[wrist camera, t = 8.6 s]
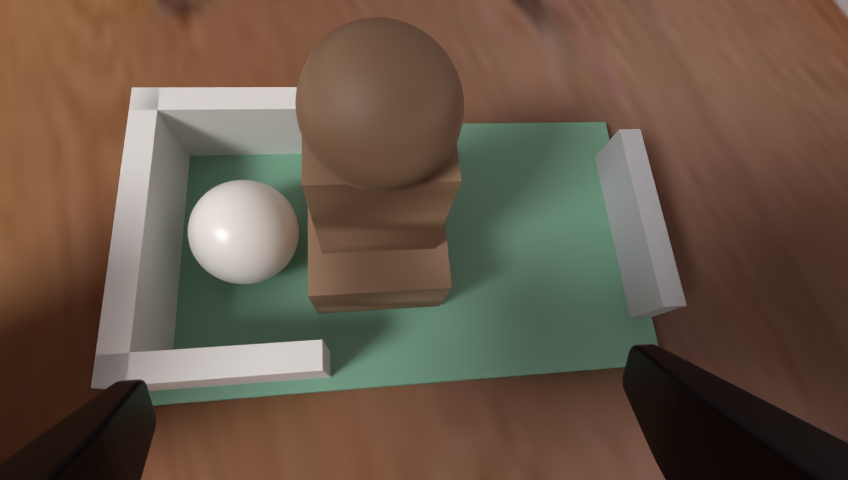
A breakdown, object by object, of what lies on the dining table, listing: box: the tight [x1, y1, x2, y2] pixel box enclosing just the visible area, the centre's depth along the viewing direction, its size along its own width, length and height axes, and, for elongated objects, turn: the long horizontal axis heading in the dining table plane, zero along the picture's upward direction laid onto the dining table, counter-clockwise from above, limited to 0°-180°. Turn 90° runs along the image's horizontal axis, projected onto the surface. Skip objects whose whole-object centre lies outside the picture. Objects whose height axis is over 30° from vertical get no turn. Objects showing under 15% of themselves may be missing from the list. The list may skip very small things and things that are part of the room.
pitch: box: [91, 87, 687, 406], centre depth 20 cm, size 21×12×4 cm, turn 94°
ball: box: [188, 180, 299, 284], centre depth 18 cm, size 4×4×4 cm
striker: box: [295, 18, 464, 314], centre depth 15 cm, size 5×6×12 cm
